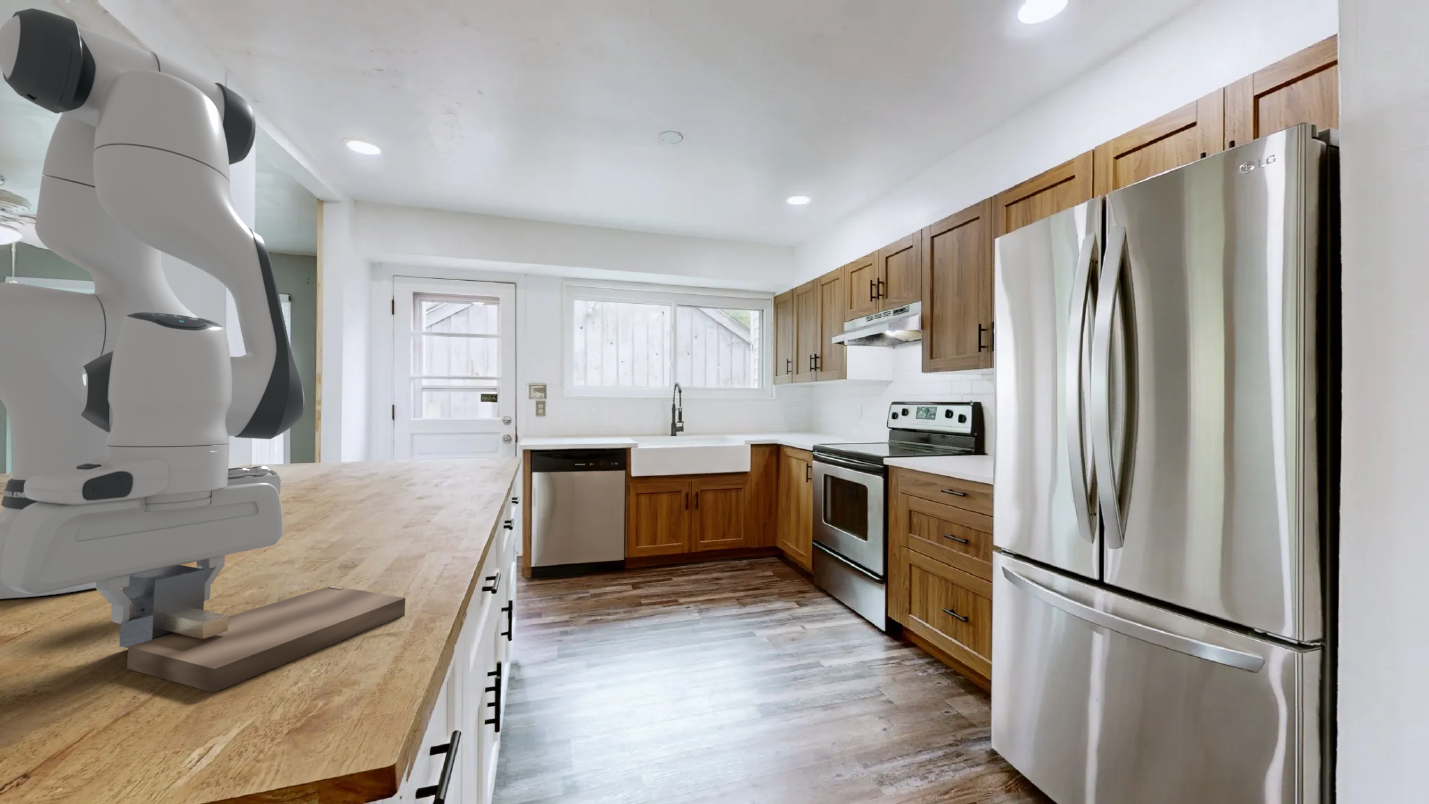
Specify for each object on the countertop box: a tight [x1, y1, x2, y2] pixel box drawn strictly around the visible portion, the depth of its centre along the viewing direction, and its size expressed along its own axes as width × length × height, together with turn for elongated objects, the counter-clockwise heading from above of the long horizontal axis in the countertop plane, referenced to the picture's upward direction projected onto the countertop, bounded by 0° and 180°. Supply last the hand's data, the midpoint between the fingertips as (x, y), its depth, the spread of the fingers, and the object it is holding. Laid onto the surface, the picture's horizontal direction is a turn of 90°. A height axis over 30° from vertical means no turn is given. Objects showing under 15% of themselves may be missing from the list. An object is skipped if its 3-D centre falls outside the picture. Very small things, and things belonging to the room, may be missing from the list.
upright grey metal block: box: [119, 564, 229, 649], centre depth 53 cm, size 10×4×7 cm, turn 72°
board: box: [126, 585, 406, 693], centre depth 57 cm, size 12×19×2 cm, turn 162°
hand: (163, 610), depth 54 cm, fingers closed on upright grey metal block, 4 cm apart
